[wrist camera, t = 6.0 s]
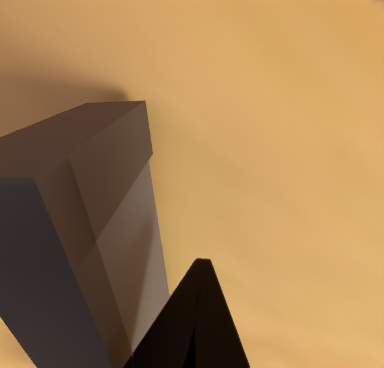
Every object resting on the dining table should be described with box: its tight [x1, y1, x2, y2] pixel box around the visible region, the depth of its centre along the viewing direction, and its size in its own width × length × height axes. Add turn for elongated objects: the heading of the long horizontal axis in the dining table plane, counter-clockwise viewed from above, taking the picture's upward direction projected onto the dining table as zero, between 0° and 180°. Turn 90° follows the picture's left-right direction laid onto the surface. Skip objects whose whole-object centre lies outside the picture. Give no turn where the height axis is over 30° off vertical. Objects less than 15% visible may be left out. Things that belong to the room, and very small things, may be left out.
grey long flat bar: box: [0, 101, 170, 368], centre depth 10 cm, size 18×2×5 cm, turn 3°
